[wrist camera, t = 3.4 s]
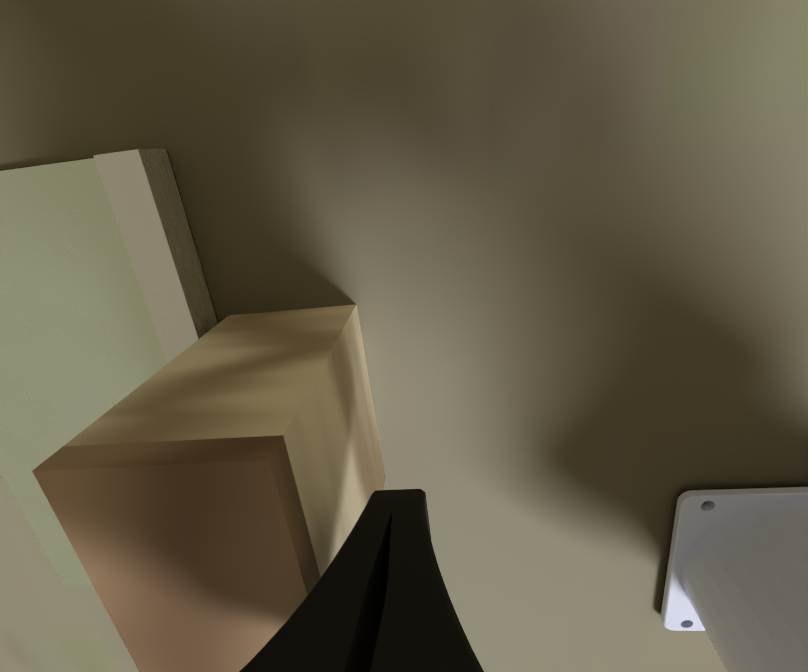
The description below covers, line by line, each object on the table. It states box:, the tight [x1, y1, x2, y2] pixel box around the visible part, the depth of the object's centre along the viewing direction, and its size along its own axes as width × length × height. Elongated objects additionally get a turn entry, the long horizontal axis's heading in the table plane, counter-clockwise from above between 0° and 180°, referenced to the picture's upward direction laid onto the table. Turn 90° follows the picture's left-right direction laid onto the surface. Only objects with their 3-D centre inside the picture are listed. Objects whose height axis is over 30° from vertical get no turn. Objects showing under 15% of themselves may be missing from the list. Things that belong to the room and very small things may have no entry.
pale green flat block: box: [0, 149, 218, 585], centre depth 19 cm, size 13×20×2 cm, turn 7°
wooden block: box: [32, 304, 385, 672], centre depth 14 cm, size 5×8×9 cm, turn 7°
